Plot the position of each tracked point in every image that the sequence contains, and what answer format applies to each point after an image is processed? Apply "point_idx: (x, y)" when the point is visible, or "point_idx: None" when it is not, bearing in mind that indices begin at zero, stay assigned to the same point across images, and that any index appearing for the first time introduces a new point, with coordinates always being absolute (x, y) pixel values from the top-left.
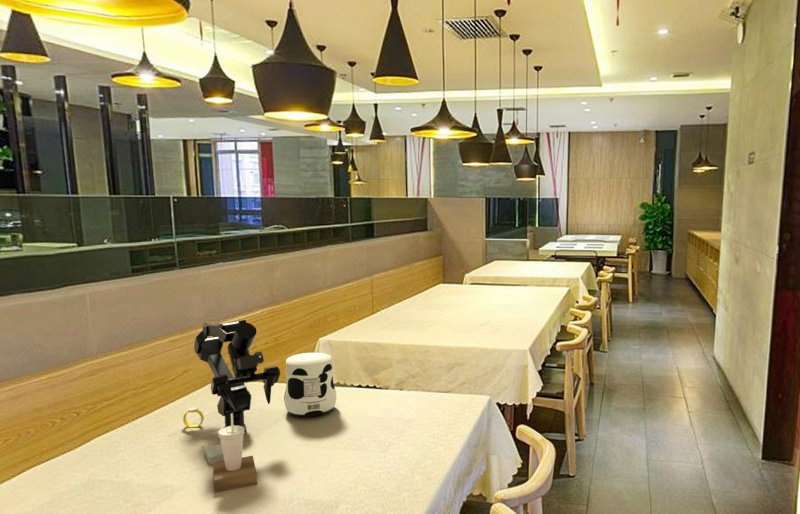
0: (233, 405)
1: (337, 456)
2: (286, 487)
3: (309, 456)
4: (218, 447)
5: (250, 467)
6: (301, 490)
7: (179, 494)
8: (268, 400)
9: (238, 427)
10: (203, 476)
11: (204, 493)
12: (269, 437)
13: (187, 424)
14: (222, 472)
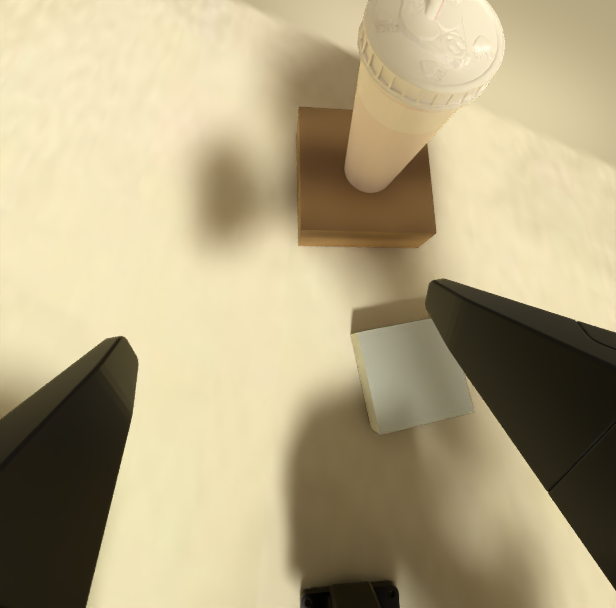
0: (477, 290)
1: (4, 200)
2: (221, 85)
3: (100, 242)
4: (421, 394)
5: (315, 144)
6: (185, 54)
7: (493, 169)
8: (115, 345)
9: (397, 50)
10: (444, 244)
11: (432, 147)
12: (209, 489)
13: None
14: None
